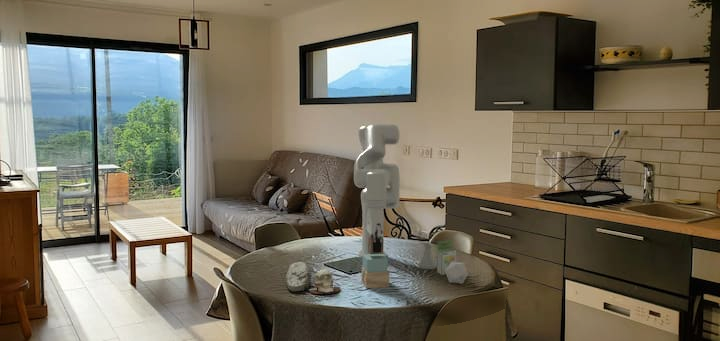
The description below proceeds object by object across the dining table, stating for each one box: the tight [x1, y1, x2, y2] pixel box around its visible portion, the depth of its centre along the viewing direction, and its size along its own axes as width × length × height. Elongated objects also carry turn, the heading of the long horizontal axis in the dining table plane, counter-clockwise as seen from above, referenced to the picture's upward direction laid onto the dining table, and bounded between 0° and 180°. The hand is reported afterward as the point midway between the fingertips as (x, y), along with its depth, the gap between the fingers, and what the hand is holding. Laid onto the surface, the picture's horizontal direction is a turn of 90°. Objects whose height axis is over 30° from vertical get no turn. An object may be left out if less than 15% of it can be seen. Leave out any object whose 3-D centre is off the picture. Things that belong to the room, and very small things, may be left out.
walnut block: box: [368, 236, 384, 254], centre depth 226 cm, size 5×5×6 cm
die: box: [445, 261, 469, 285], centre depth 230 cm, size 8×9×10 cm
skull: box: [309, 269, 341, 295], centre depth 218 cm, size 12×10×10 cm
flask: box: [418, 243, 437, 270], centre depth 250 cm, size 7×7×10 cm
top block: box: [362, 254, 389, 273], centre depth 226 cm, size 8×8×5 cm
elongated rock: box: [285, 261, 312, 292], centre depth 232 cm, size 35×5×10 cm
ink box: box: [436, 239, 457, 276], centre depth 241 cm, size 7×4×13 cm, turn 117°
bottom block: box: [361, 266, 390, 289], centre depth 227 cm, size 9×9×6 cm
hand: (375, 250), depth 226 cm, fingers closed on walnut block, 4 cm apart
